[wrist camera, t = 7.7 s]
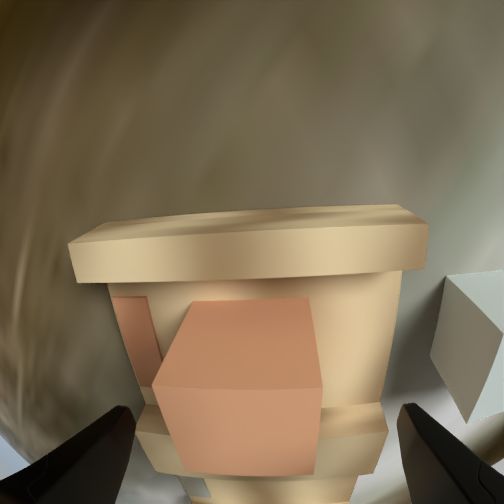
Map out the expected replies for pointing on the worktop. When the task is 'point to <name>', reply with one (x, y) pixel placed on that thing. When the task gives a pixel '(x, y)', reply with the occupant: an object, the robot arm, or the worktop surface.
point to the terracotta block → (243, 388)
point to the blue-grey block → (472, 343)
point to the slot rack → (266, 287)
